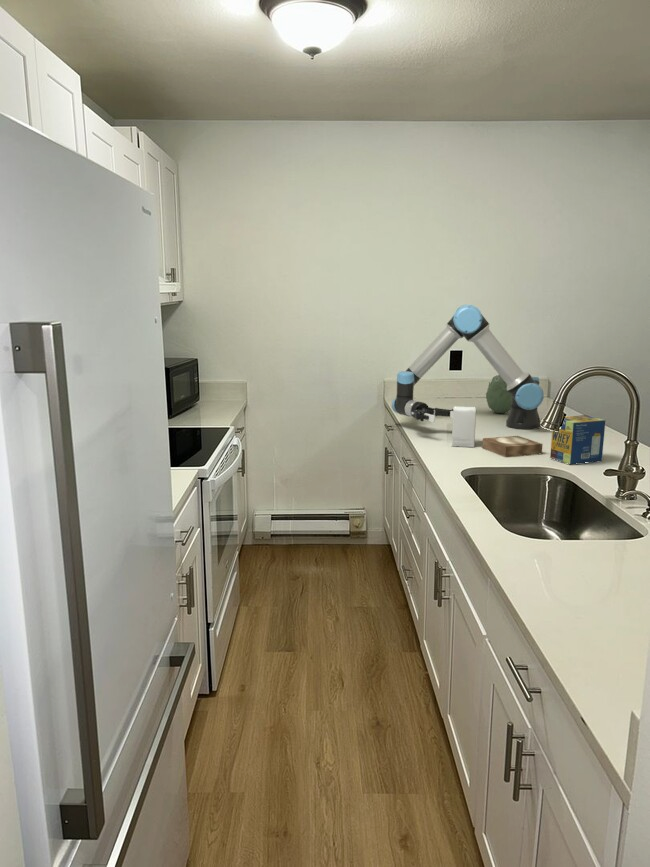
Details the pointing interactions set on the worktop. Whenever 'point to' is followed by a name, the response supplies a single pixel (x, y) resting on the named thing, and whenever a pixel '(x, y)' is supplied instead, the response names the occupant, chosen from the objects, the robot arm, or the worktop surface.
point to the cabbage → (498, 395)
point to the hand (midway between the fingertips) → (447, 417)
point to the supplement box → (463, 426)
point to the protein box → (578, 440)
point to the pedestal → (512, 446)
